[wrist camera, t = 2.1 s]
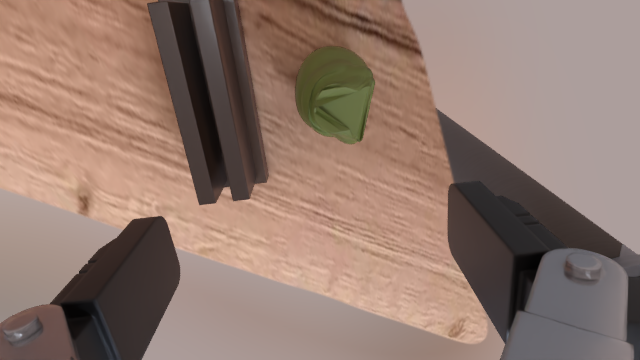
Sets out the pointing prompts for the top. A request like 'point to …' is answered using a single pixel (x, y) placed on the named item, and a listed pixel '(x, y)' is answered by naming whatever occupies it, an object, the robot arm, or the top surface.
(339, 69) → the pear
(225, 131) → the holder
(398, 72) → the top surface
